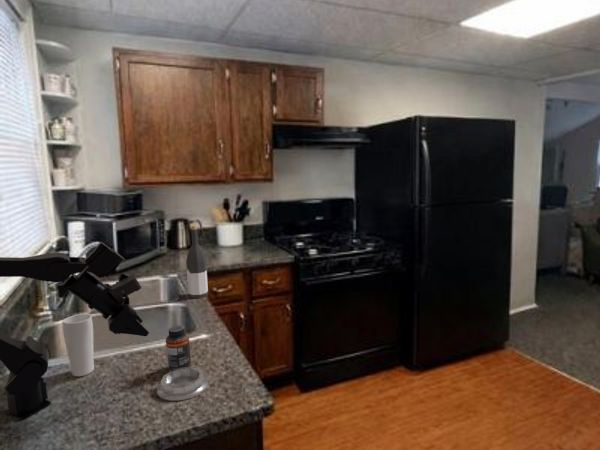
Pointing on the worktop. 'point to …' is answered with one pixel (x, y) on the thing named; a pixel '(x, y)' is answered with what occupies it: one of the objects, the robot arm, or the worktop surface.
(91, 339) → the drinking glass
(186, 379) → the faceted metal ring
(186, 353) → the supplement bottle
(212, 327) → the worktop surface
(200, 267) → the wine bottle
